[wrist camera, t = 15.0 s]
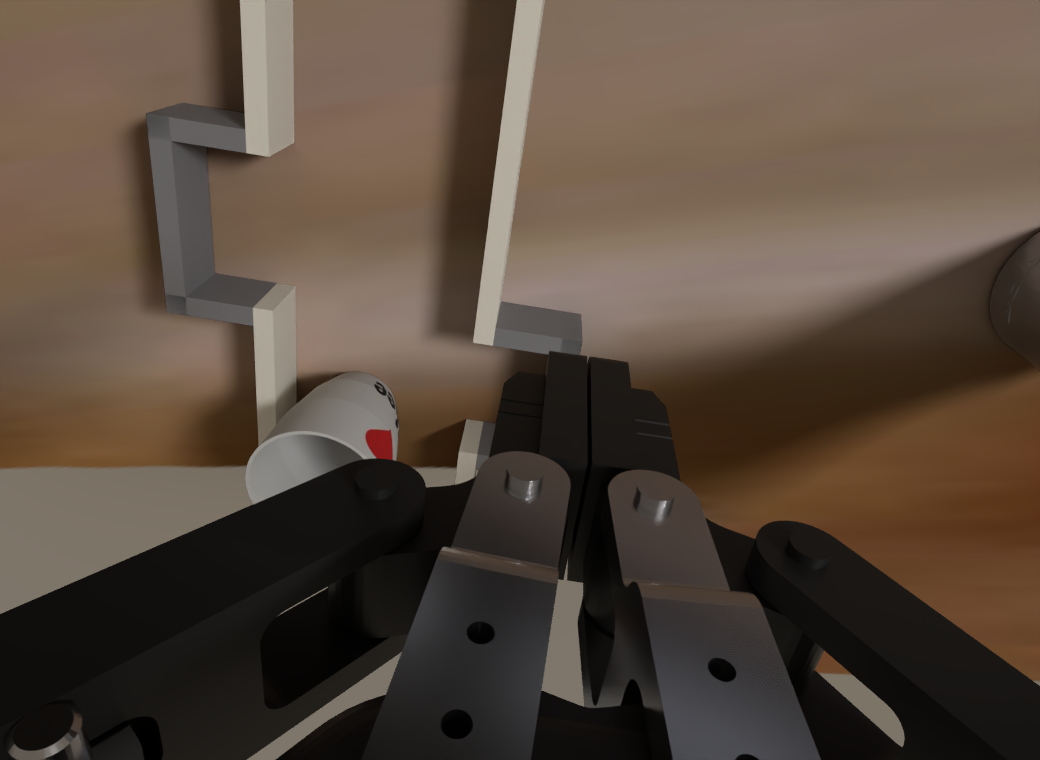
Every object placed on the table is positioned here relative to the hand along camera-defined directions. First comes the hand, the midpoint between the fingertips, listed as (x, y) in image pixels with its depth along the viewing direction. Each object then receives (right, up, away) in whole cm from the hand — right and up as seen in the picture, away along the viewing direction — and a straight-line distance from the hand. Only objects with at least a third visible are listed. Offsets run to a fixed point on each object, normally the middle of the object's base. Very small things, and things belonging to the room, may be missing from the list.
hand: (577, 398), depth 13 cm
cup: (-12, -1, +36) cm, 38 cm away
